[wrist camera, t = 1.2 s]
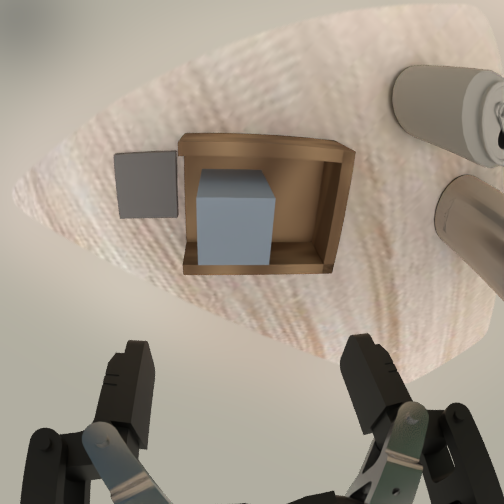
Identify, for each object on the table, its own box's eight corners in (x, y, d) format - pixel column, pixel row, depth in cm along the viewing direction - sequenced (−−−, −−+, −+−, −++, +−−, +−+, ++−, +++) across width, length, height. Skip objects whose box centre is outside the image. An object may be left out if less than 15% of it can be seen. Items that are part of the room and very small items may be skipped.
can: (413, 151, 26) (497, 196, 15) (373, 92, 23) (463, 108, 12) (454, 110, 23) (541, 139, 13) (420, 52, 20) (513, 55, 10)
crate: (335, 140, 25) (355, 151, 21) (318, 248, 30) (331, 273, 26) (185, 133, 23) (178, 142, 19) (187, 248, 29) (183, 274, 25)
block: (261, 169, 25) (275, 198, 19) (257, 222, 28) (268, 264, 22) (202, 168, 24) (196, 197, 18) (202, 222, 27) (198, 265, 21)
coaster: (176, 150, 24) (175, 152, 23) (178, 214, 27) (177, 217, 26) (115, 153, 23) (113, 155, 23) (121, 215, 26) (120, 218, 26)
